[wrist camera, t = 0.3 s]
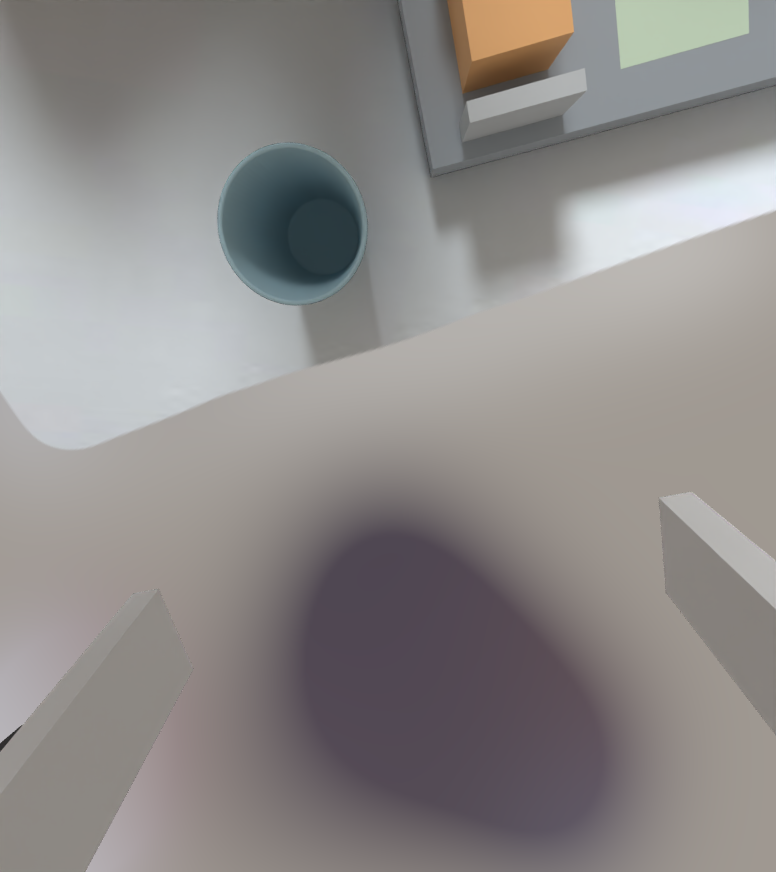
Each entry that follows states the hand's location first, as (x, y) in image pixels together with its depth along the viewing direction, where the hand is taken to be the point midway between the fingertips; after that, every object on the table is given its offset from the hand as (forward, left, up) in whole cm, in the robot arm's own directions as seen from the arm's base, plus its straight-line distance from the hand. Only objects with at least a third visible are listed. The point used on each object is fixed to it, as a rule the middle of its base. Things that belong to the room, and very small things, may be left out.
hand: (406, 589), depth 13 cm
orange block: (-19, +9, -24) cm, 32 cm away
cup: (-11, -4, -27) cm, 29 cm away
